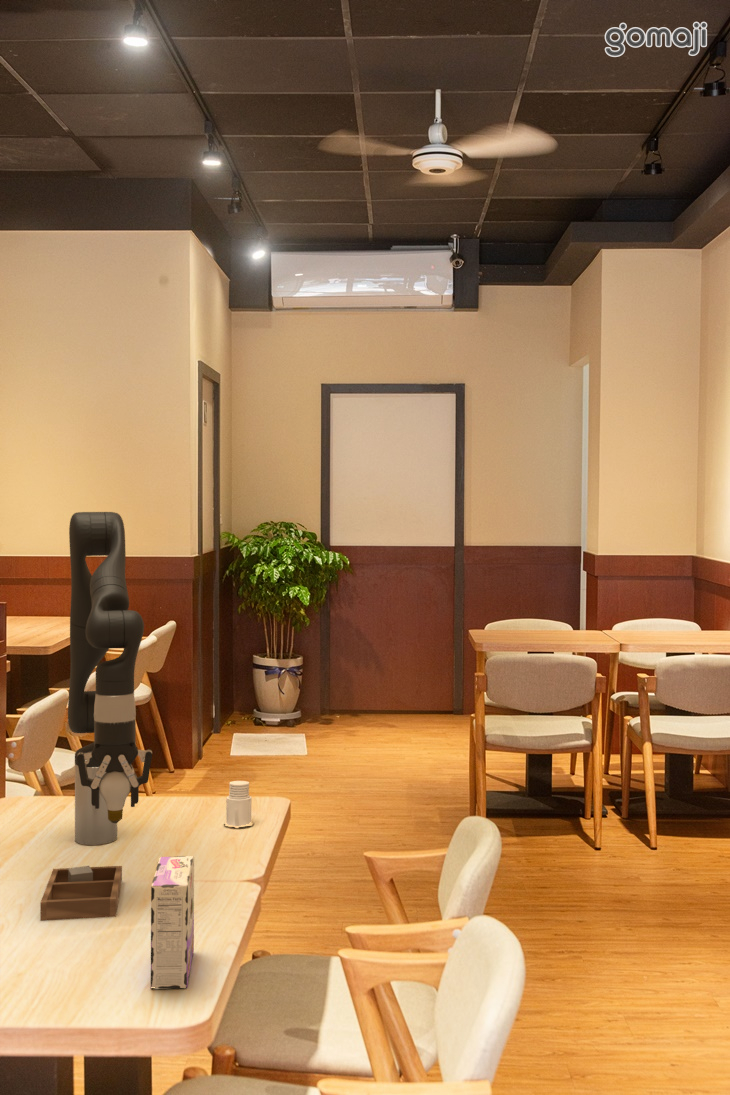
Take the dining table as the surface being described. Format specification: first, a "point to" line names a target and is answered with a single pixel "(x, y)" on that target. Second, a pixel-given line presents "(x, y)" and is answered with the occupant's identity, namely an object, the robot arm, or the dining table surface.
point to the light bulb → (115, 793)
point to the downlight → (238, 804)
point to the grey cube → (80, 874)
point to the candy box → (172, 922)
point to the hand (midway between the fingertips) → (115, 806)
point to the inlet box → (82, 895)
